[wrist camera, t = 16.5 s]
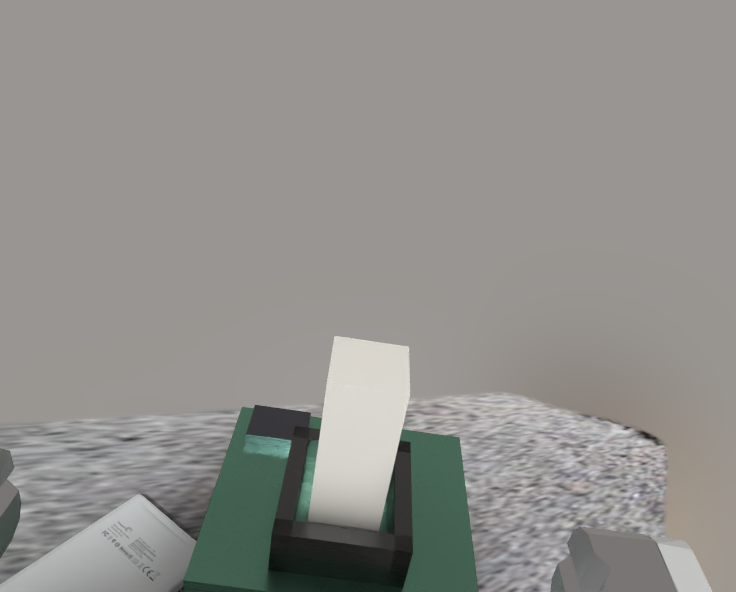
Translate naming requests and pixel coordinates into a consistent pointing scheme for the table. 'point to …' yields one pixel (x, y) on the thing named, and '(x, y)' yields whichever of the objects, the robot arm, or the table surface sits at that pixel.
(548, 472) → the table surface
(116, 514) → the external hard drive
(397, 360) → the keyed plug
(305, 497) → the green-topped socket block
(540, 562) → the table surface
